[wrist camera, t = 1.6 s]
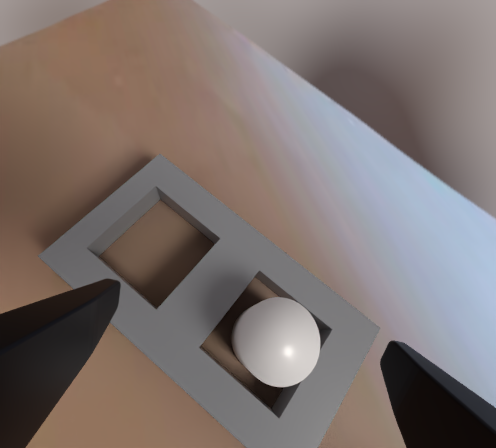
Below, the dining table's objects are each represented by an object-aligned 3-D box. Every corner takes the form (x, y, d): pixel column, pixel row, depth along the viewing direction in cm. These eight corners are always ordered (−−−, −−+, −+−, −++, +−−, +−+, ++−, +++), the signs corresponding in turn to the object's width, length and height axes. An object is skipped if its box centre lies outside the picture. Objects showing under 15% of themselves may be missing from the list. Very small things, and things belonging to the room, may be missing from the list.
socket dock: (284, 472, 19) (315, 530, 14) (55, 263, 22) (4, 241, 16) (363, 328, 24) (411, 327, 18) (164, 168, 26) (152, 126, 21)
